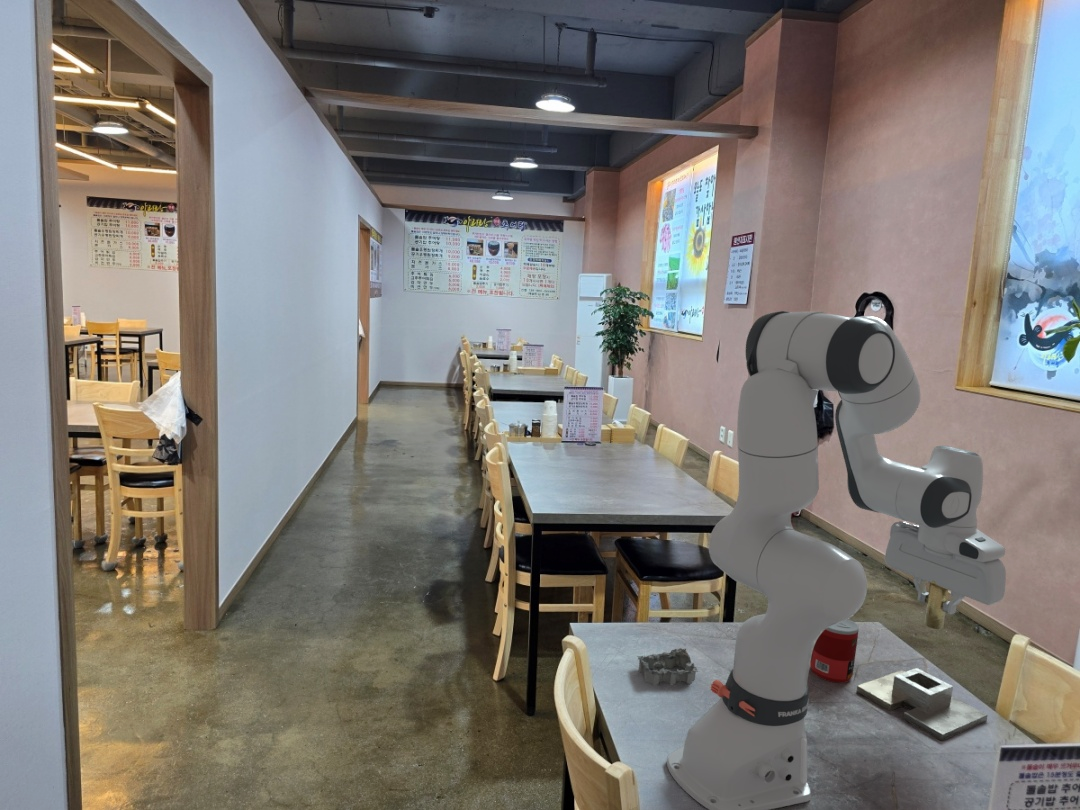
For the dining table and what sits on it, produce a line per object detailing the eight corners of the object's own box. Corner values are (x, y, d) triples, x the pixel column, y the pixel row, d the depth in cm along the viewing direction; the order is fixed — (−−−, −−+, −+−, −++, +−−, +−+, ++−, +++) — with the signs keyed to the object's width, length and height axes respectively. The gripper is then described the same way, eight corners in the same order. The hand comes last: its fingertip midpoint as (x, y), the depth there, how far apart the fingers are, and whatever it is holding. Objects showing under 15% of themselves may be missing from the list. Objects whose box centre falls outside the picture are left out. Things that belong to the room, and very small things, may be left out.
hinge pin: (937, 632, 124) (944, 584, 122) (917, 622, 127) (923, 576, 125) (950, 627, 125) (956, 581, 124) (929, 619, 129) (936, 573, 127)
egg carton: (686, 666, 139) (688, 647, 138) (699, 686, 131) (701, 667, 131) (635, 666, 138) (636, 647, 137) (645, 687, 130) (647, 666, 130)
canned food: (856, 686, 134) (863, 633, 132) (813, 680, 136) (819, 628, 134) (847, 666, 142) (853, 616, 140) (806, 660, 143) (812, 611, 141)
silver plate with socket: (941, 741, 118) (945, 714, 117) (856, 691, 132) (859, 667, 132) (986, 720, 125) (990, 695, 124) (901, 675, 139) (904, 652, 138)
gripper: (882, 519, 131) (873, 588, 133) (995, 556, 113) (983, 635, 115) (902, 515, 134) (894, 582, 136) (1015, 551, 116) (1003, 627, 118)
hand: (935, 607), depth 126 cm, fingers closed on hinge pin, 3 cm apart
